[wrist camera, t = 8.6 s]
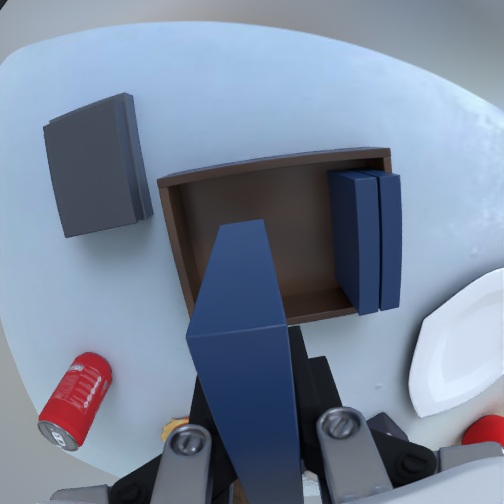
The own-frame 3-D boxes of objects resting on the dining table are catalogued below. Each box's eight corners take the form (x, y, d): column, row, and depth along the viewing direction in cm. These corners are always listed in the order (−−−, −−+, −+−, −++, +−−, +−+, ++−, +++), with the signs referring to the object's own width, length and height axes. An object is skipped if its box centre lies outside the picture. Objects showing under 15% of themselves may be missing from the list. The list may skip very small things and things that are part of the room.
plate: (402, 422, 37) (406, 431, 36) (399, 301, 30) (406, 310, 28) (511, 363, 36) (517, 369, 34) (530, 240, 28) (540, 244, 26)
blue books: (326, 170, 25) (354, 179, 18) (363, 166, 25) (400, 175, 18) (335, 278, 28) (359, 316, 22) (368, 272, 28) (399, 307, 22)
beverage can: (109, 352, 32) (69, 427, 20) (118, 384, 33) (87, 458, 22) (73, 346, 31) (27, 413, 20) (83, 377, 33) (46, 444, 22)
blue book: (219, 224, 11) (184, 336, 5) (263, 218, 11) (287, 324, 5) (258, 413, 14) (263, 532, 8) (288, 409, 14) (305, 528, 8)
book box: (171, 173, 25) (156, 179, 21) (368, 146, 25) (390, 148, 21) (201, 311, 30) (195, 337, 25) (374, 283, 29) (392, 305, 25)
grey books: (60, 121, 23) (36, 120, 19) (132, 95, 23) (115, 88, 19) (81, 229, 27) (60, 241, 23) (153, 213, 27) (139, 225, 23)
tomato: (457, 424, 40) (484, 472, 28) (503, 394, 38) (534, 435, 27) (450, 452, 44) (471, 494, 32) (492, 426, 42) (516, 463, 30)
